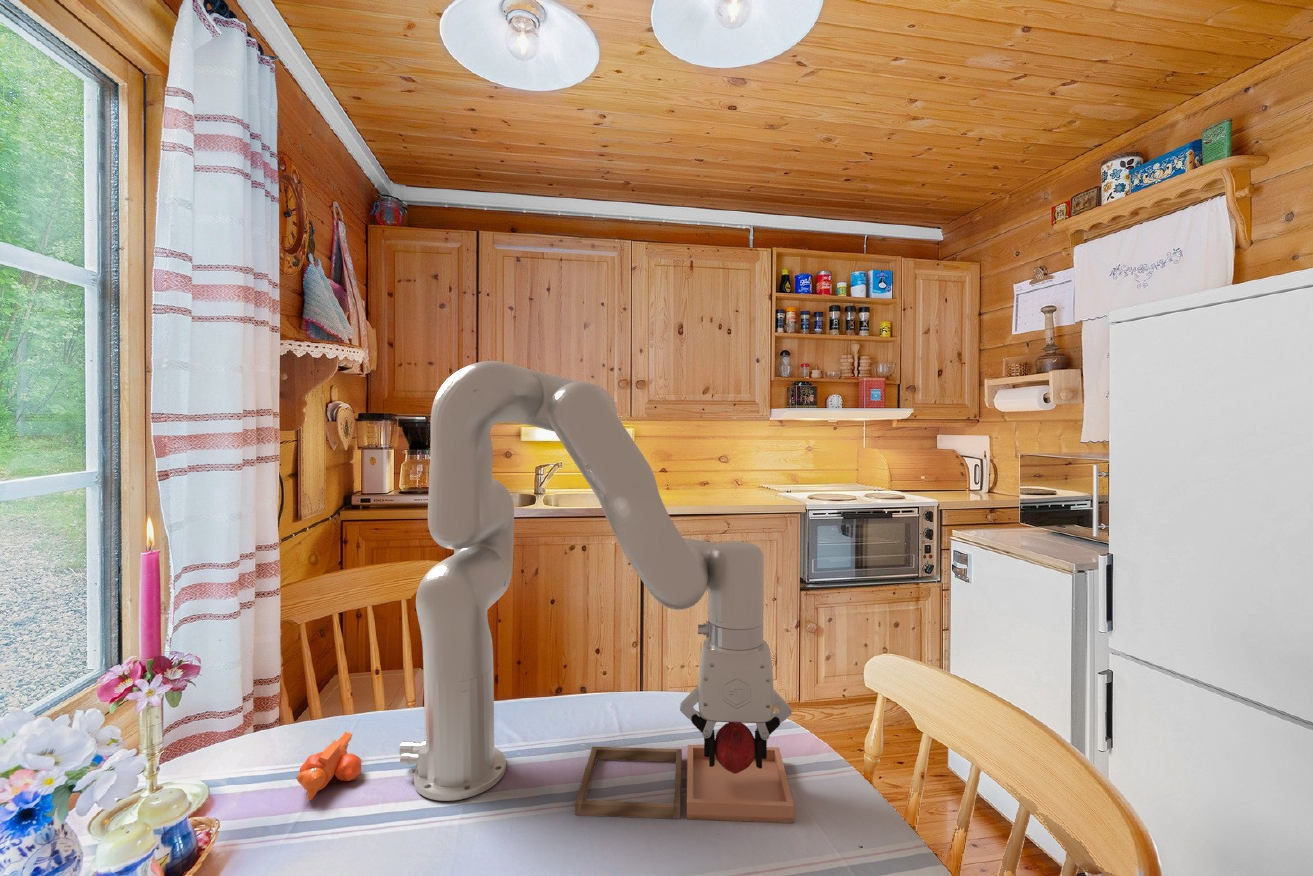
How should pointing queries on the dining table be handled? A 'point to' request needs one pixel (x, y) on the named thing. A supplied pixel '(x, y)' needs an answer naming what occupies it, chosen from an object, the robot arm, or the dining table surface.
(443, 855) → the dining table surface
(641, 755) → the walnut frame
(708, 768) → the terracotta tray
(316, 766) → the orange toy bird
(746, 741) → the onion
